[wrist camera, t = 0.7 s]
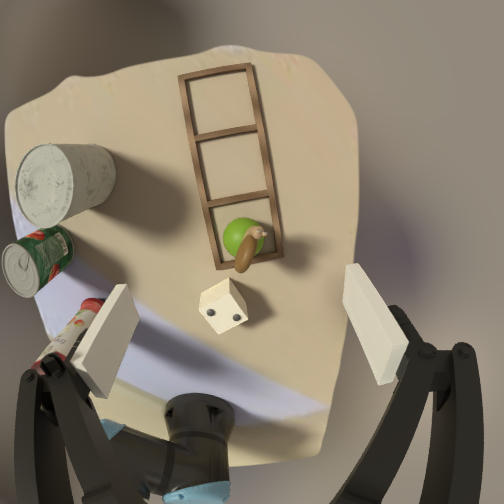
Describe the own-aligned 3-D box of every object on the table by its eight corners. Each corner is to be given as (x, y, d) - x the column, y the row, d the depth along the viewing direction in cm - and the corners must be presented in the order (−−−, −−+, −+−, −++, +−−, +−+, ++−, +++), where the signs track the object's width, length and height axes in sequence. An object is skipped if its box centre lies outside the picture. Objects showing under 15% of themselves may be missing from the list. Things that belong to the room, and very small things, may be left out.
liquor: (102, 286, 40) (12, 415, 14) (126, 321, 42) (66, 460, 16) (75, 302, 40) (-8, 417, 14) (99, 334, 43) (37, 457, 17)
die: (245, 302, 43) (248, 320, 38) (219, 316, 43) (218, 335, 38) (228, 277, 41) (229, 293, 36) (201, 292, 42) (198, 310, 37)
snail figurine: (269, 215, 39) (288, 240, 27) (253, 255, 40) (264, 294, 29) (233, 201, 38) (236, 221, 26) (218, 244, 39) (215, 279, 28)
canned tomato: (63, 277, 39) (29, 308, 28) (34, 247, 36) (-4, 271, 26) (82, 244, 37) (45, 272, 27) (51, 213, 35) (9, 232, 25)
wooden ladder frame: (283, 255, 41) (283, 256, 40) (216, 268, 41) (216, 270, 40) (250, 63, 31) (250, 62, 31) (178, 77, 31) (177, 75, 30)
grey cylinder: (86, 131, 32) (38, 126, 20) (128, 169, 35) (88, 177, 23) (54, 182, 33) (5, 195, 22) (93, 220, 36) (50, 245, 25)
